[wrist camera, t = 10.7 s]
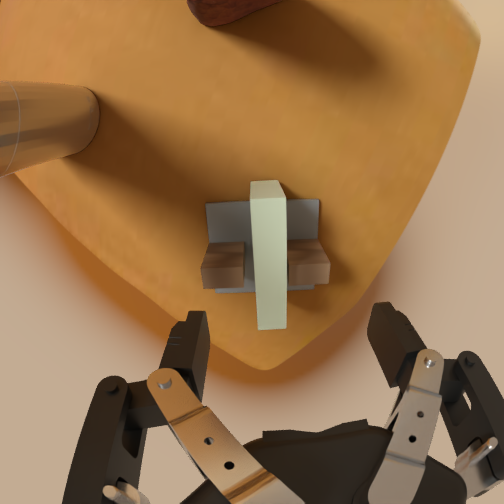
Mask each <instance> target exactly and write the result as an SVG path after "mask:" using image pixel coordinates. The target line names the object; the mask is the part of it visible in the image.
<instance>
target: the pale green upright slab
mask: <svg viewBox="0 0 504 504" xmlns="http://www.w3.org/2000/svg"><path fill="white" fill-rule="evenodd" d="M250 209H251V224H252V240H253V256H254V272H255V288H256V304H257V320H258V330H269V329H285V328H286V316H287V223H286V196H285V194H284V192H283V190H282V188H281V186H280V184H279V181H278V180H265V181H251V184H250Z"/></svg>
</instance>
